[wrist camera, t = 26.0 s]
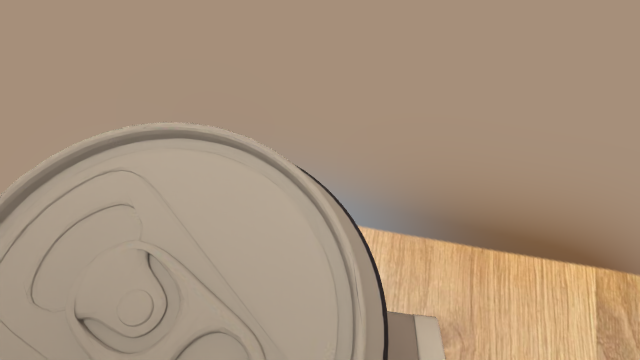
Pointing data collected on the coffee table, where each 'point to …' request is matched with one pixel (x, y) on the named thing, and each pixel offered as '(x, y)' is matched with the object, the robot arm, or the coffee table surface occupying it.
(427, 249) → the coffee table surface
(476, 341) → the coffee table surface
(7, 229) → the beverage can
